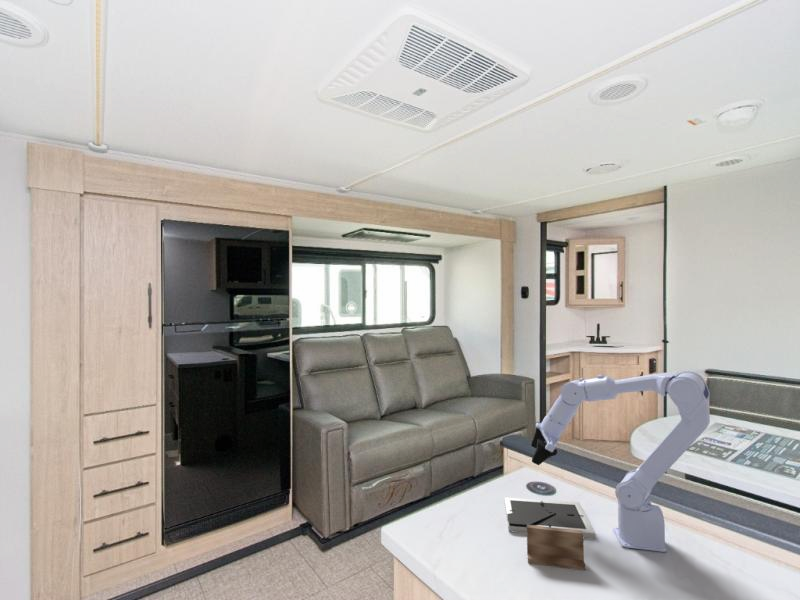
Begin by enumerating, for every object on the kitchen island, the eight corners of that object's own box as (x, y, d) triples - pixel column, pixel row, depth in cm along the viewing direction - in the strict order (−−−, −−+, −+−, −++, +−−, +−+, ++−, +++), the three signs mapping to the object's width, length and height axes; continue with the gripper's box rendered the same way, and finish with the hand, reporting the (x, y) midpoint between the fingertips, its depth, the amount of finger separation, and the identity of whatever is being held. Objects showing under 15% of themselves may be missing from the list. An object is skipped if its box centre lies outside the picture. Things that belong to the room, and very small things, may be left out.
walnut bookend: (582, 561, 92) (582, 530, 92) (585, 570, 89) (585, 538, 89) (527, 554, 95) (526, 524, 95) (528, 562, 92) (527, 531, 92)
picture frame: (508, 534, 105) (595, 541, 101) (508, 523, 105) (595, 530, 101) (504, 504, 120) (579, 509, 117) (504, 494, 120) (579, 499, 117)
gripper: (543, 399, 120) (521, 434, 124) (546, 425, 106) (521, 463, 111) (566, 410, 119) (543, 445, 123) (571, 438, 105) (546, 476, 110)
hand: (534, 454), depth 117 cm, fingers open, 7 cm apart
